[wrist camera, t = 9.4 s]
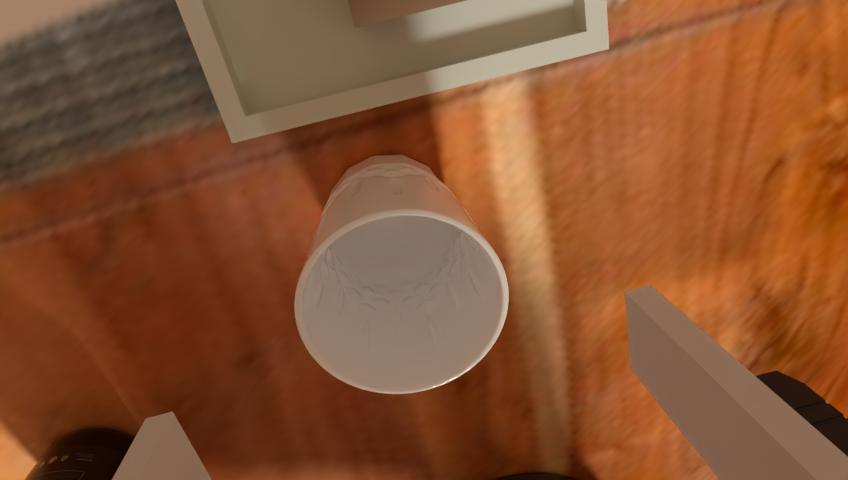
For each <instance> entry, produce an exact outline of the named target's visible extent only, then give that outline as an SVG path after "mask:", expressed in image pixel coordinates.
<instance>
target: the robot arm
mask: <svg viewBox="0 0 848 480" xmlns="http://www.w3.org/2000/svg"><path fill="white" fill-rule="evenodd" d="M625 296H626V311H627V327H628V342H629V358H630V369H631V370H632V371H633V372H634V373H635V375H636V376H637V377H638V378H639V380H640V381H641V382H642V383H643V385H644V386H645V387H646V388H647V390H648V391H649V392H650V393H651V395H652V396H653V397H654V398H655V400H656V401H657V402H658V403H659V405H660V406H661V407H662V408H663V410H664V411H665V412H666V413H667V415H668V416H669V417H670V418H671V419H672V421H673V422H674V423H675V424H676V426H677V427H678V428H679V429H680V431H681V432H682V433H683V434H684V436H685V437H686V438H687V439H688V441H689V442H690V443H691V444H692V446H693V447H694V448H695V449H696V451H697V452H698V453H699V454H700V456H701V457H702V458H703V459H704V461H705V462H706V463H707V464H708V465H709V467H710V468H711V469H712V470H713V472H714V473H715V474H716V475H717V477H718V478H719V479H720V480H848V418H847V419H845V418H844V416H843V414H842V413H841V412H839V411H838V410H837V409H835V408H834V407H833V406H832V405H830V404H827V403H826V402H825V400H824V399H823V398H822V397H820V396H819V395H818V394H817V393H815V392H814V391H813V390H811V389H810V388H809V387H808V386H806V385H805V384H804V383H802V382H800V381H798V380H796V379H793V378H791V377H789V376H787V375H785V374H782V373H780V372H778V371H773V372H769V373H765V374H762V375H758V376H755V375H753V374H752V373H751V372H750V371H749V370H748V369H747V368H745V367H744V366H743V365H742V364H741V363H740V362H739V361H737V360H736V359H735V358H734V357H733V356H732V355H730V354H729V353H728V352H727V351H726V350H725V349H724V348H722V347H721V346H720V345H719V344H718V343H717V342H716V341H714V340H713V339H712V338H711V337H710V336H709V335H708V334H706V333H705V332H704V331H703V330H702V329H701V328H699V327H698V326H697V325H696V324H695V323H694V322H693V321H691V320H690V319H689V318H688V317H687V316H686V315H685V314H683V313H682V312H681V311H680V310H679V309H678V308H677V307H675V306H674V305H673V304H672V303H671V302H670V301H668V300H667V299H666V298H665V297H664V296H663V295H662V294H660V293H659V292H658V291H657V290H656V289H655V288H654V287H652V286H647V287H643V288H639V289H635V290H632V291H628V292H625ZM112 480H212V479H211V477H210V476H209V474H208V472H207V470H206V469H205V467H204V465H203V464H202V462H201V460H200V458H199V457H198V455H197V453H196V451H195V450H194V448H193V446H192V444H191V443H190V441H189V439H188V437H187V436H186V434H185V432H184V430H183V429H182V427H181V425H180V423H179V422H178V420H177V418H176V416H175V415H174V413H173V411H172V412H168V413H165V414H161V415H157V416H153V417H149V418H146V419H145V421H144V422H143V424H142V426H141V428H140V430H139V431H138V433H137V435H136V437H135V439H134V440H133V442H132V444H131V446H130V448H129V450H128V451H127V453H126V455H125V457H124V459H123V460H122V462H121V464H120V466H119V468H118V470H117V471H116V473H115V475H114V477H113V479H112ZM500 480H574V479H571V478H568V477H564V476H559V475H553V474H525V475H518V476H512V477H508V478H503V479H500Z"/></svg>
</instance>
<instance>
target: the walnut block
mask: <svg viewBox="0 0 848 480" xmlns="http://www.w3.org/2000/svg"><path fill="white" fill-rule="evenodd" d="M462 1H466V0H348V3H349V7H350V11H351V15H352V18H353V22H354V26H355V28H358V27H362V26H366V25H370V24H374V23H378V22H382V21H386V20H390V19H394V18H398V17H402V16H406V15H410V14H414V13H418V12H422V11H426V10H430V9H434V8H438V7H442V6H446V5H450V4H454V3H458V2H462Z"/></svg>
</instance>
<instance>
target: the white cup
mask: <svg viewBox="0 0 848 480" xmlns="http://www.w3.org/2000/svg"><path fill="white" fill-rule="evenodd" d="M508 304H509V289H508V282H507V277H506V274H505V270H504V268H503V265H502V263H501V261H500V259H499V257H498V255H497V254H496V252H495V251H494V249H493V248H492V246H491V245H490V244H489V242H488V241H487V239H486V238H485V237H484V235H483V234H482V232H481V231H480V230H479V228H478V227H477V225H476V224H475V222H474V221H473V219H472V218H471V216H470V215H469V214H468V212H467V211H466V209H465V208H464V207H463V206H462V204H461V203H460V202H459V201H458V199H457V198H456V197H455V196H454V195H453V193H452V192H451V191H450V189H449V188H448V187H447V186H446V185H445V184H443V183H442V182H441V181H440V180H439V178H438V177H437V176H436V175H435V174H434V172H433V171H432V170H431V169H430V168H429V167H428V166H427V165H425V164H422V163H420V162H418V161H415V160H413V159H411V158H409V157H406V156H404V155H375V156H371V157H369V158H367V159H366V160H364V161H362V162H360V163H358V164H356V165H354V166H352V167H350V168H348V169H347V170H346V171H345V173H344V174H343V176H342V177H341V178H340V180H339V181H338V182H337V184H336V185H335V186H334V188H333V189H332V190H331V192H330V196H329V199H328V201H327V203H326V205H325V207H324V209H323V211H322V214H321V216H320V219H319V222H318V224H317V226H316V229H315V232H314V235H313V238H312V241H311V244H310V247H309V251H308V254H307V257H306V260H305V263H304V266H303V268H302V271H301V274H300V277H299V280H298V283H297V287H296V292H295V300H294V312H295V320H296V325H297V329H298V332H299V335H300V337H301V339H302V341H303V343H304V345H305V347H306V349H307V350H308V352H309V353H310V355H311V356H312V357H313V358H314V360H315V361H316V362H317V363H318V364H319V365H320V366H321V367H322V368H323V369H325V370H326V371H327V372H328V373H330V374H331V375H333V376H334V377H336V378H337V379H339V380H341V381H343V382H345V383H347V384H349V385H351V386H354V387H357V388H360V389H363V390H367V391H371V392H376V393H384V394H407V393H415V392H421V391H425V390H429V389H433V388H436V387H438V386H441V385H444V384H446V383H448V382H450V381H452V380H454V379H456V378H458V377H460V376H461V375H463V374H464V373H466V372H467V371H469V370H470V369H471V368H472V367H474V366H475V365H476V364H477V363H478V362H479V361H480V360H481V359H482V358H483V357H484V356H485V355H486V354H487V353H488V351H489V350H490V349H491V348H492V346H493V345H494V343H495V342H496V340H497V338H498V336H499V334H500V332H501V330H502V328H503V325H504V322H505V319H506V316H507V311H508Z"/></svg>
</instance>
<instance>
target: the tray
mask: <svg viewBox="0 0 848 480" xmlns="http://www.w3.org/2000/svg"><path fill="white" fill-rule="evenodd" d="M175 1H176V3H177V6H178V9H179V11H180V14H181V16H182V19H183V21H184V24H185V26H186V29H187V31H188V34H189V36H190V39H191V41H192V44H193V46H194V49H195V51H196V54H197V56H198V59H199V61H200V64H201V66H202V69H203V71H204V74H205V76H206V79H207V81H208V84H209V86H210V89H211V91H212V94H213V97H214V99H215V102H216V104H217V107H218V109H219V112H220V114H221V117H222V119H223V122H224V124H225V127H226V129H227V132H228V134H229V137H230V139H231V142H232V143H236V142H240V141H244V140H248V139H252V138H256V137H260V136H264V135H268V134H272V133H276V132H280V131H284V130H288V129H292V128H296V127H300V126H304V125H308V124H312V123H316V122H320V121H324V120H328V119H332V118H336V117H340V116H344V115H348V114H352V113H356V112H360V111H364V110H368V109H372V108H376V107H379V106H383V105H387V104H391V103H395V102H399V101H403V100H407V99H411V98H415V97H419V96H423V95H427V94H431V93H435V92H439V91H443V90H447V89H451V88H455V87H459V86H463V85H467V84H471V83H475V82H479V81H483V80H487V79H491V78H495V77H499V76H503V75H507V74H511V73H515V72H519V71H523V70H527V69H531V68H535V67H539V66H543V65H547V64H551V63H555V62H559V61H563V60H567V59H571V58H575V57H579V56H583V55H587V54H591V53H595V52H599V51H603V50H607V49H609V38H608V20H607V3H606V0H466V1H462V2H458V3H454V4H450V5H446V6H442V7H438V8H434V9H430V10H426V11H422V12H418V13H414V14H410V15H406V16H402V17H398V18H394V19H390V20H386V21H382V22H378V23H374V24H370V25H366V26H362V27H358V28H355V26H354V22H353V18H352V15H351V11H350V7H349V3H348V0H175Z"/></svg>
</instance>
